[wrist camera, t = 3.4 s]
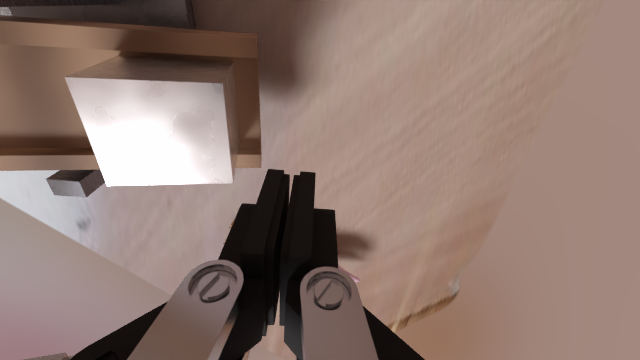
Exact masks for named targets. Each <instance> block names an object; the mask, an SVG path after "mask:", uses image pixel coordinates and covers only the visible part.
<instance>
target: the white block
mask: <svg viewBox="0 0 640 360" xmlns="http://www.w3.org/2000/svg"><path fill="white" fill-rule="evenodd" d="M65 80H66V82H67V85H68V87H69V90H70V92H71V95H72V98H73V100H74V103H75V105H76V108H77V110H78V113H79V115H80V118H81V120H82V123H83V125H84V128H85V131H86V133H87V136H88V138H89V141H90V143H91V146H92V148H93V151H94V153H95V156H96V159H97V161H98V164H99V166H100V169H101V171H102V174H103V176H104V179H105V181H106V184H107V186H123V185H169V184H216V183H233V180H234V174H235V168H236V162H237V156H238V150H239V144H240V139H239V126H238V114H237V101H236V89H235V76H234V64H233V61H220V60H201V59H182V58H164V57H145V56H127V55H118V56H115V57H113V58H110V59H108V60H105V61H103V62H100V63H98V64H96V65H93V66H91V67H88V68H86V69H83V70H81V71H78V72H76V73H74V74H71V75H69V76H66V77H65Z"/></svg>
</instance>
